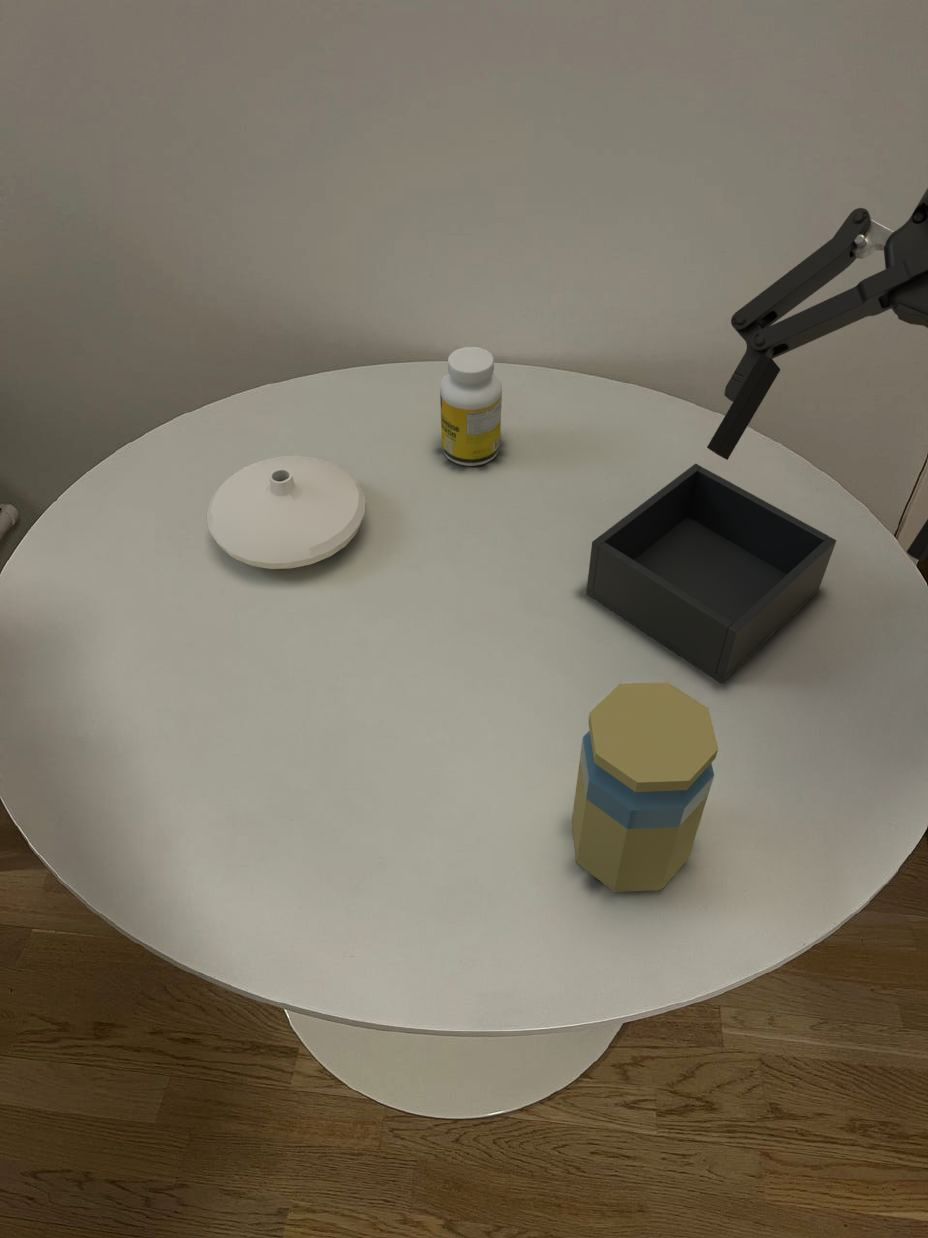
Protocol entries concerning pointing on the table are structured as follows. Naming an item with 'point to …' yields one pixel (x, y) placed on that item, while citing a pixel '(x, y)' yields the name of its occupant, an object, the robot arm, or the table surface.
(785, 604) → the bin
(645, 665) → the table surface
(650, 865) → the jar
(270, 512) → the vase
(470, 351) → the pill bottle
